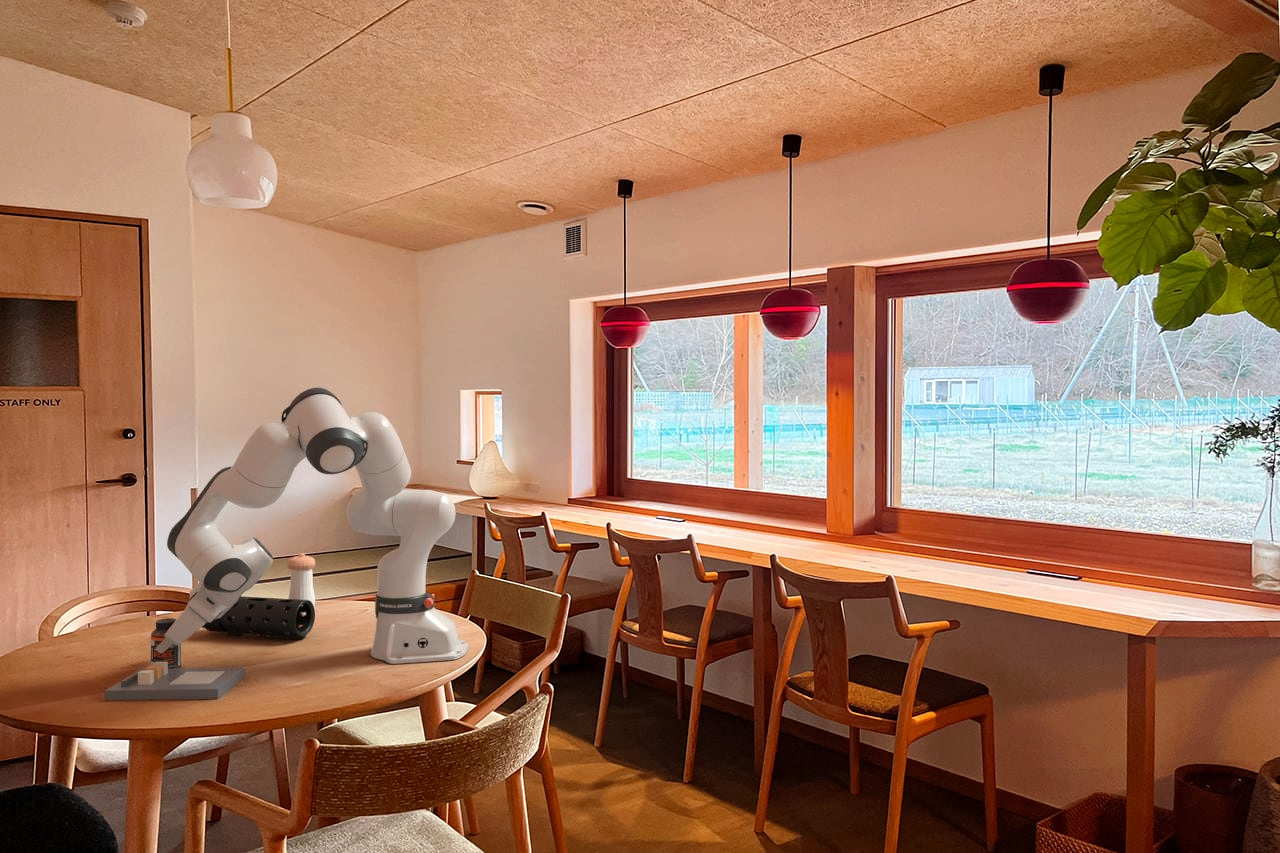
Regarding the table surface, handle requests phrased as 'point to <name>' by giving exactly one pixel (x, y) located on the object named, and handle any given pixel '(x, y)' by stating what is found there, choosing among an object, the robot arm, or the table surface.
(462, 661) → the table surface
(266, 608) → the muzzle brake
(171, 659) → the supplement bottle
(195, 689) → the breaker board
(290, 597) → the pepper shaker
